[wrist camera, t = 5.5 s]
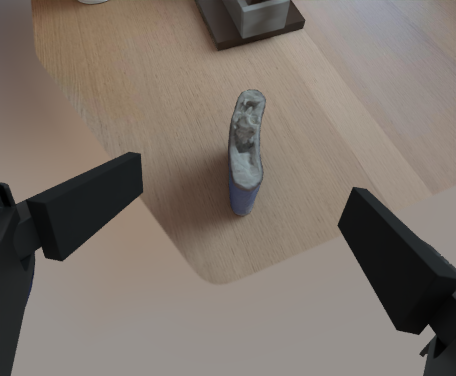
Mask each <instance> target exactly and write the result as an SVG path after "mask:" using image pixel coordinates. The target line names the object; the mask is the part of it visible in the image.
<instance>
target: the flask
mask: <svg viewBox="0 0 456 376" xmlns="http://www.w3.org/2000/svg"><path fill="white" fill-rule="evenodd" d="M265 103H266V99H265V97H264V96H263V94H262V93H261V92H259V91H258V90H247V91H244V92H242V93H241V94H240V96H239V97H238V100H237V102H236V106H235V110H234V113H233V116H232V119H231V124H230V131H229V142H228V158H229V164H228V165H229V193H230V203H231V208H232V210H233V211H234V213H235V214H237V215H241V216H244V215H247V214H249V213H250V212H251V210H252V208H253V204H254V200H255V197H256V194H257V192H258V190H259V187H260V185H261V182H262V180H263V166H262V163H261V157H260V127H261V121H262V116H263V113H264V109H265Z"/></svg>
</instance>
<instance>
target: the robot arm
mask: <svg viewBox="0 0 456 376" xmlns="http://www.w3.org/2000/svg"><path fill="white" fill-rule="evenodd" d="M142 193H143V181H142V166H141V154H140V153H133V152H128V153H126V154H124V155H121V156H119V157H117V158H115V159H113V160H111V161H108V162H106V163H104V164H102V165H100V166H98V167H96V168H93V169H91V170H89V171H87V172H85V173H83V174H80V175H78V176H76V177H74V178H72V179H70V180H68V181H65V182H63V183H61V184H59V185H57V186H55V187H52V188H50V189H48V190H46V191H44V192H42V193H40V194H37V195H35V196H33V197H31V198H28V199H26V200H24V201H22V202H20V203H18V204H15V201H14V199H13V196H12V193H11V191H10V188H9V185H8V184H5V183H0V376H11V371H12V366H13V362H14V357H15V352H16V348H17V343H18V339H19V334H20V329H21V325H22V320H23V315H24V310H25V306H26V301H27V296H28V292H29V287H30V282H31V278H32V273H33V268H34V264H35V256H34V253H33V252H34V251H36V250H37V249H39V248H40V247H42V250H43V253H44V256H45V258H48V259H53V260H58V261H63V260H65V259H66V258H67V257H68V256H69V255H70V254H71V253H73V252H74V251H75V250H76V249H77V248H78V247H80V246H81V245H82V244H83V243H84V242H86V241H87V240H88V239H89V238H90V237H91V236H93V235H94V234H95V233H96V232H97V231H98V230H100V229H101V228H102V227H103V226H104V225H105V224H107V223H108V222H109V221H110V220H111V219H112V218H114V217H115V216H116V215H117V214H118V213H119V212H120V211H122V210H123V209H124V208H125V207H126V206H128V205H129V204H130V203H131V202H132V201H133V200H134V199H136V198H137V197H138V196H139V195H140V194H142ZM337 226H338V227H339V229H340V231H341V233H342V234H343V236H344V238H345V240H346V241H347V243H348V245H349V247H350V248H351V250H352V252H353V254H354V256H355V257H356V259H357V261H358V263H359V264H360V266H361V268H362V270H363V272H364V273H365V275H366V277H367V278H368V280H369V282H370V284H371V286H372V287H373V289H374V291H375V293H376V294H377V296H378V298H379V300H380V302H381V303H382V305H383V307H384V309H385V310H386V312H387V314H388V316H389V317H390V319H391V321H392V323H393V324H394V326H395V328H396V330H398V331H403V332H408V333H413V334H417V335H419V334H420V333H421V332H422V331H423V330H424V328H425V327H426V326H427V325H428V324H429V325H430V327H431V328H432V329H433V331H434V332H435V333H436V335H435V336H434V338H433V339H432V340H431V341H430V342H429V343H428V344H427V345H426V347H425V348H424V349H423V350H422V351H421V352H420V355H421V356H422V357H424V355H425V354H428V355H427V360H426V365H425V370H424V375H423V376H456V268H455V267H454V266H452V264H449V262H448V261H447V260H446V259H445V258H444V257H443V256H441V254H439V253H438V252H437V251H436V250H435V249H434V248H433V247H432V246H431V245H429V244H427V243H426V242H424V241H423V240H421V239H420V238H419V237H418V236H416V235H415V234H414V233H413V232H412V231H411V230H410V229H409V228H408V227H407V226H406V225H405V224H403V222H401V221H400V220H399V219H398V218H397V217H396V216H395V215H394V214H393V213H392V212H391V211H390V210H389V209H388V208H386V207H385V206H384V205H383V204H382V203H381V202H380V201H379V200H378V199H377V198H376V197H375V196H374V195H372V194H371V193H370V192H369V191H368V190H367V189H363V188H357V187H353V188H352V191H351V193H350V196H349V198H348V201H347V203H346V206H345V208H344V210H343V213H342V215H341V218H340V220H339V223H338V225H337Z"/></svg>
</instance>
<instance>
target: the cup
mask: <svg viewBox="0 0 456 376" xmlns="http://www.w3.org/2000/svg"><path fill="white" fill-rule="evenodd" d="M78 1H80V2H83V3H87V4H97V3H102V2H105V1H107V0H78Z"/></svg>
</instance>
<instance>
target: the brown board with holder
mask: <svg viewBox="0 0 456 376" xmlns="http://www.w3.org/2000/svg"><path fill="white" fill-rule="evenodd" d="M195 2H196V4H197V6H198V9H199V11H200V13H201V15H202V17H203V19H204V22H205V24H206V26H207V28H208V30H209V32H210V35H211V37H212V39H213V41H214V43H215V46H216V48H217V50H218V51H219V50H223V49H226V48H230V47H234V46H238V45H241V44H245V43H249V42H253V41H257V40H260V39H264V38H268V37H272V36H275V35H279V34H283V33H287V32H290V31H294V30H298V29H302V28H303V26H304V23H305V19H304V17H303V16H302V15H301V13H300V12H299V10H298V9H297V8H296V6H295V5H294V3H293V2H292V1H291V0H195Z"/></svg>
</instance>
